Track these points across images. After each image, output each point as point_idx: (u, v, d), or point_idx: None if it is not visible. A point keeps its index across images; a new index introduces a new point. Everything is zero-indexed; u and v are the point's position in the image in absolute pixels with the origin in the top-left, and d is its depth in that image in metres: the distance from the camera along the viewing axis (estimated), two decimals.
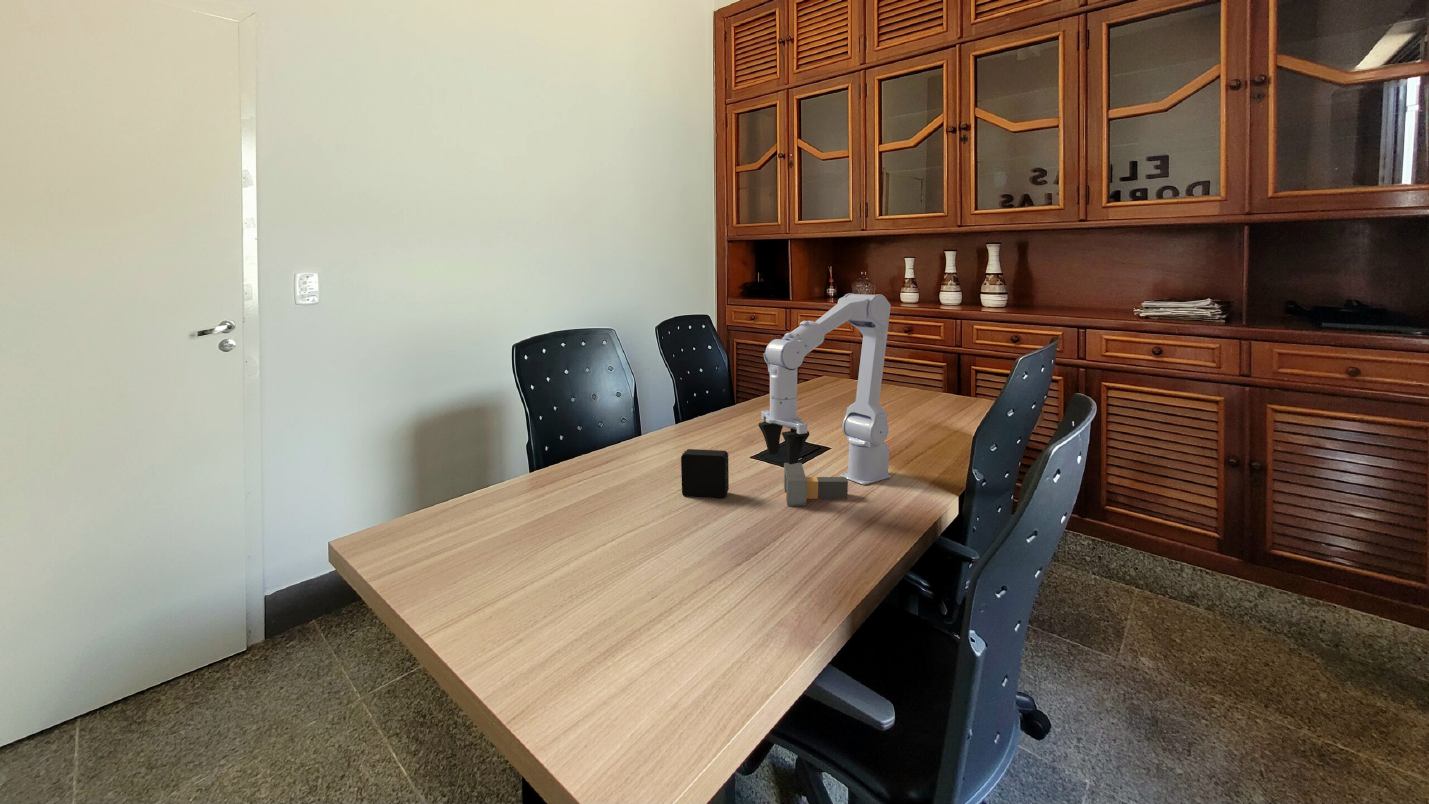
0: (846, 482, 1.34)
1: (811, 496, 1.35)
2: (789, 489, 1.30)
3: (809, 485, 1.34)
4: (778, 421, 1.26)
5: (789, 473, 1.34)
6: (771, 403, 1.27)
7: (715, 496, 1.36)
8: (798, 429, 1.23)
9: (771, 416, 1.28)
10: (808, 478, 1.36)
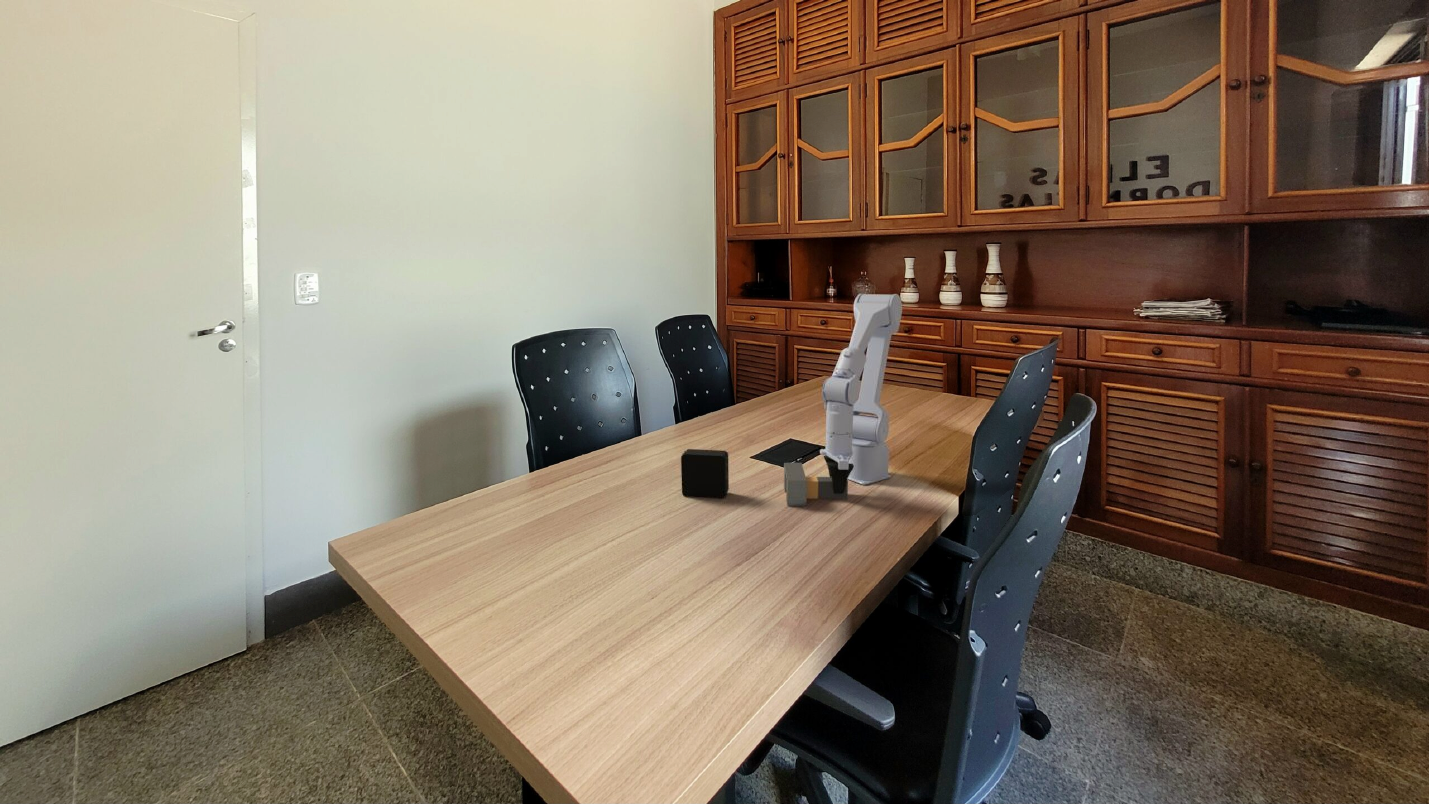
0: None
1: (811, 496, 1.35)
2: (789, 489, 1.30)
3: (809, 485, 1.34)
4: (828, 454, 1.32)
5: (789, 473, 1.34)
6: (826, 436, 1.34)
7: (715, 496, 1.36)
8: (838, 464, 1.27)
9: None
10: (808, 478, 1.36)
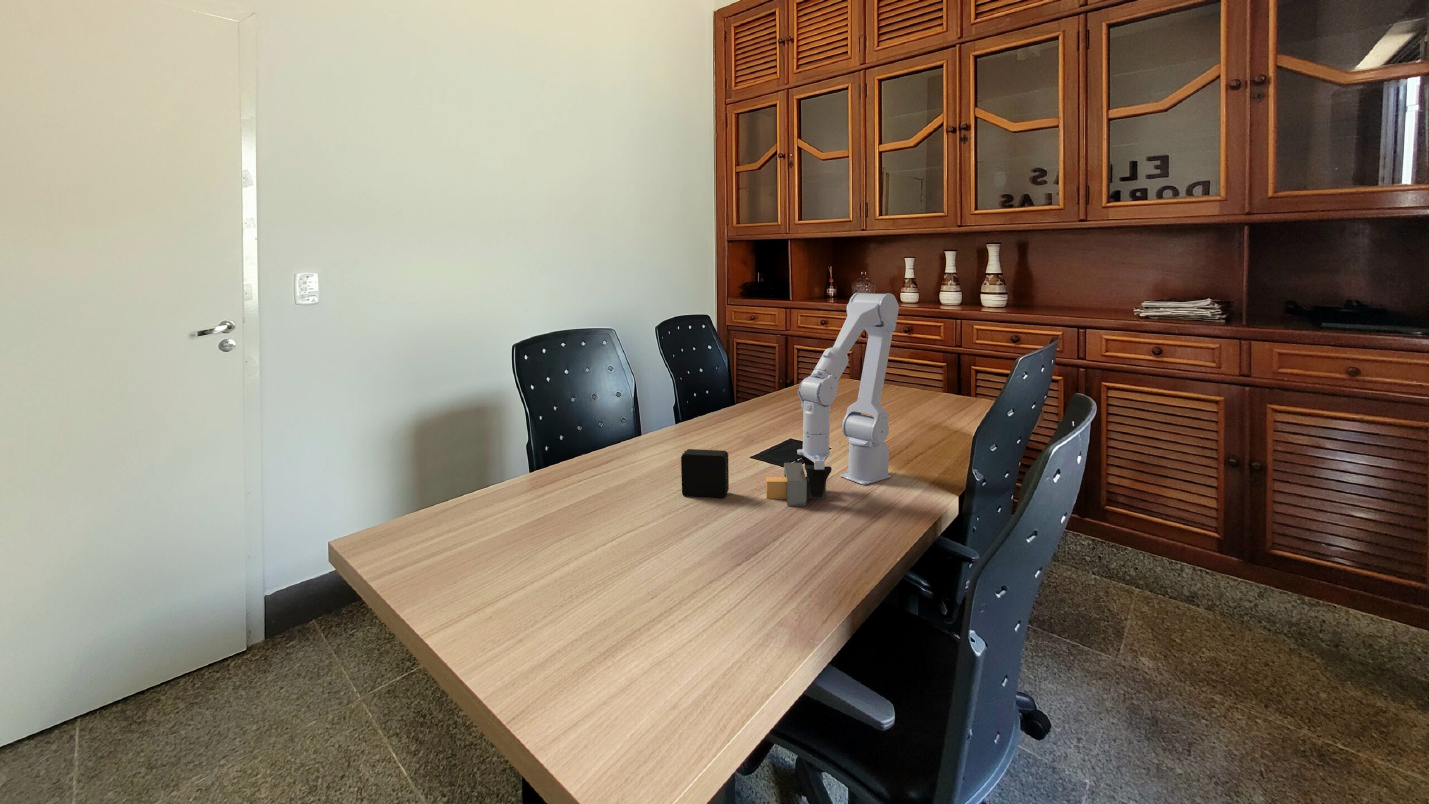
0: None
1: None
2: (789, 489, 1.30)
3: None
4: (805, 454, 1.32)
5: (789, 473, 1.34)
6: (803, 436, 1.34)
7: (715, 496, 1.36)
8: (814, 464, 1.28)
9: None
10: (786, 478, 1.36)
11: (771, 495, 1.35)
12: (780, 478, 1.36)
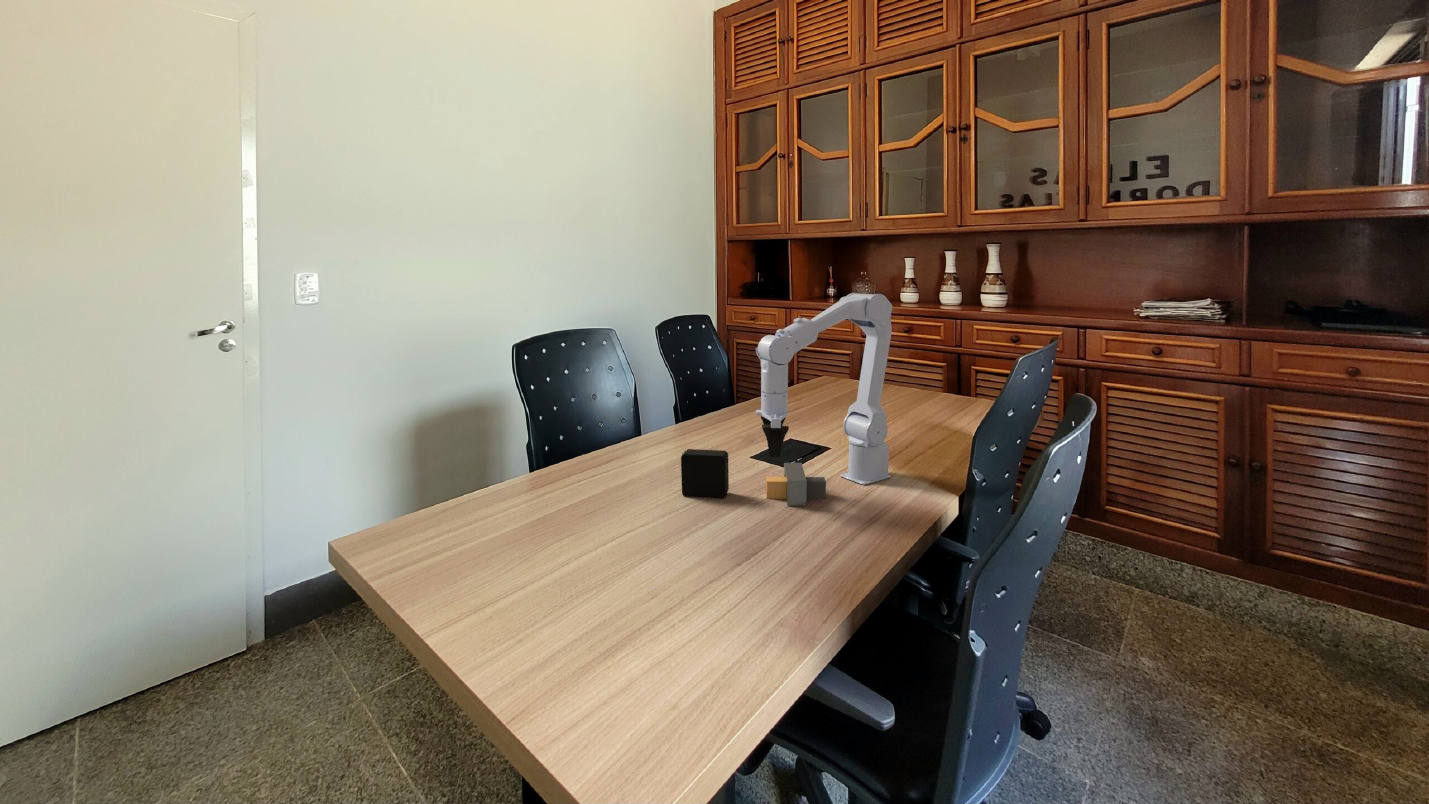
0: (824, 482, 1.34)
1: None
2: (789, 489, 1.30)
3: None
4: (763, 414, 1.31)
5: (789, 473, 1.34)
6: (761, 396, 1.32)
7: (715, 496, 1.36)
8: (771, 423, 1.26)
9: (761, 408, 1.33)
10: (786, 478, 1.36)
11: (771, 495, 1.35)
12: (780, 478, 1.36)
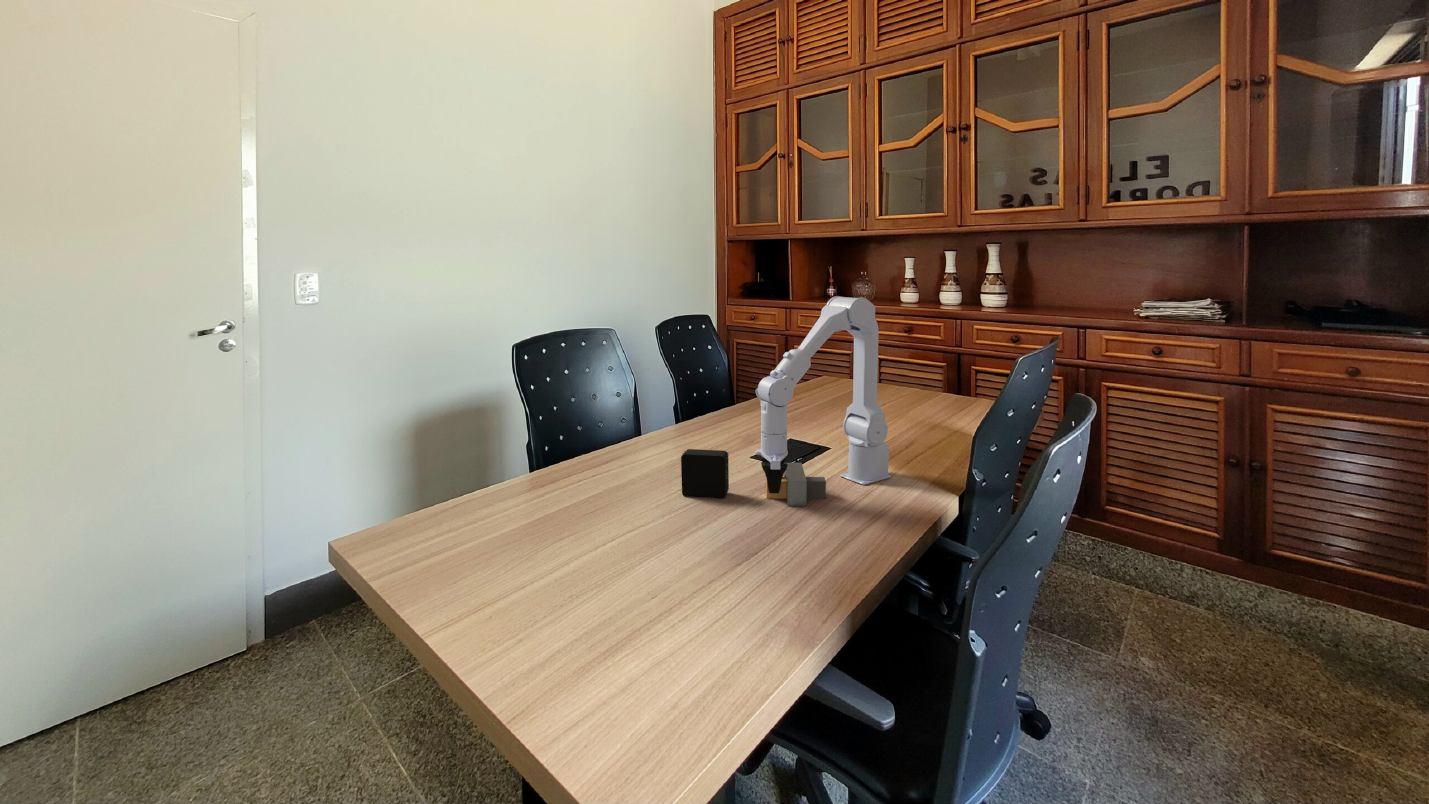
0: (824, 482, 1.34)
1: None
2: (789, 489, 1.30)
3: None
4: (762, 454, 1.33)
5: (789, 473, 1.34)
6: None
7: (715, 496, 1.36)
8: (770, 464, 1.28)
9: (761, 448, 1.35)
10: (786, 478, 1.36)
11: (771, 495, 1.35)
12: None
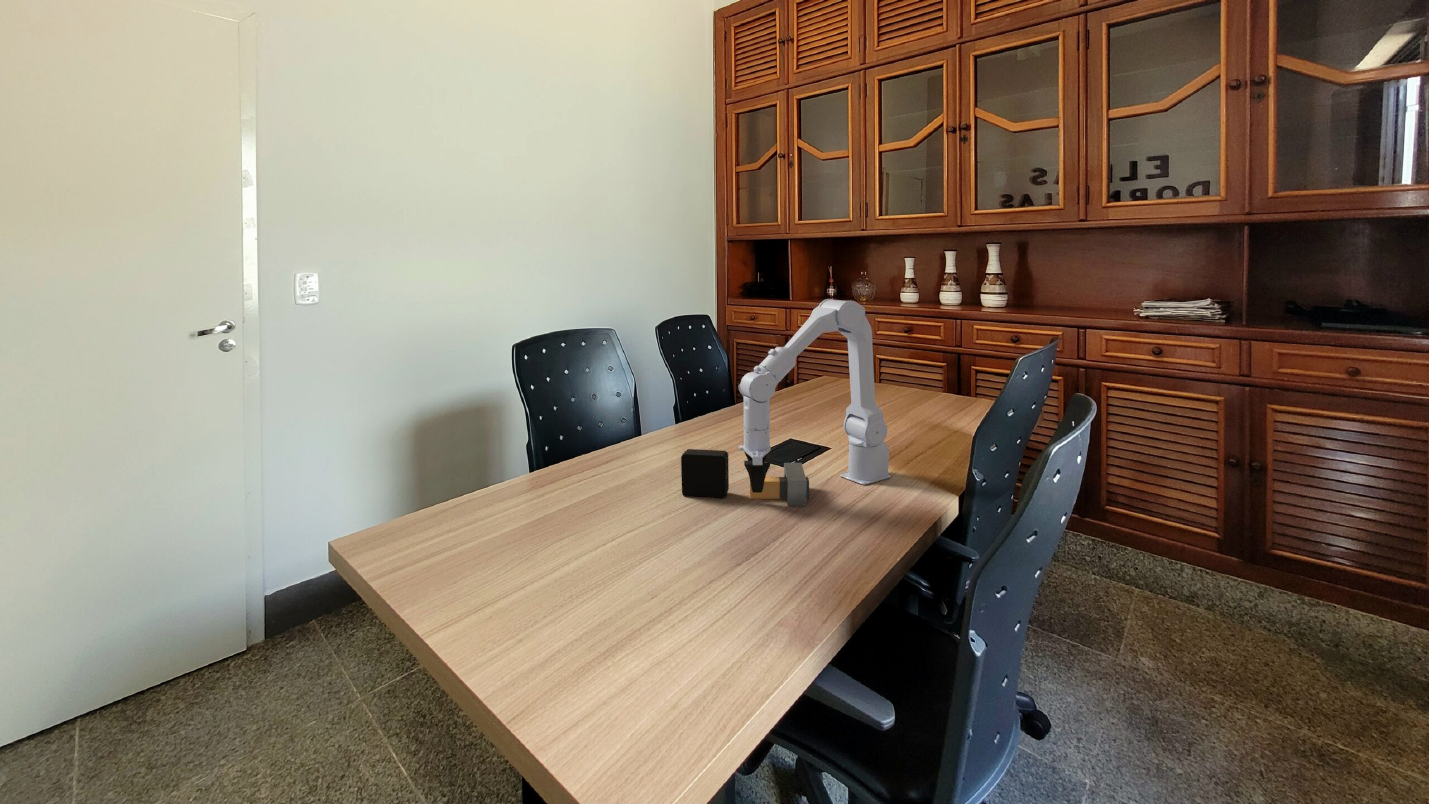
0: (807, 482, 1.34)
1: (773, 496, 1.35)
2: (789, 489, 1.30)
3: (770, 485, 1.35)
4: (745, 449, 1.33)
5: (789, 473, 1.34)
6: None
7: (715, 496, 1.36)
8: (752, 460, 1.28)
9: (744, 444, 1.35)
10: (770, 478, 1.36)
11: (754, 495, 1.35)
12: None
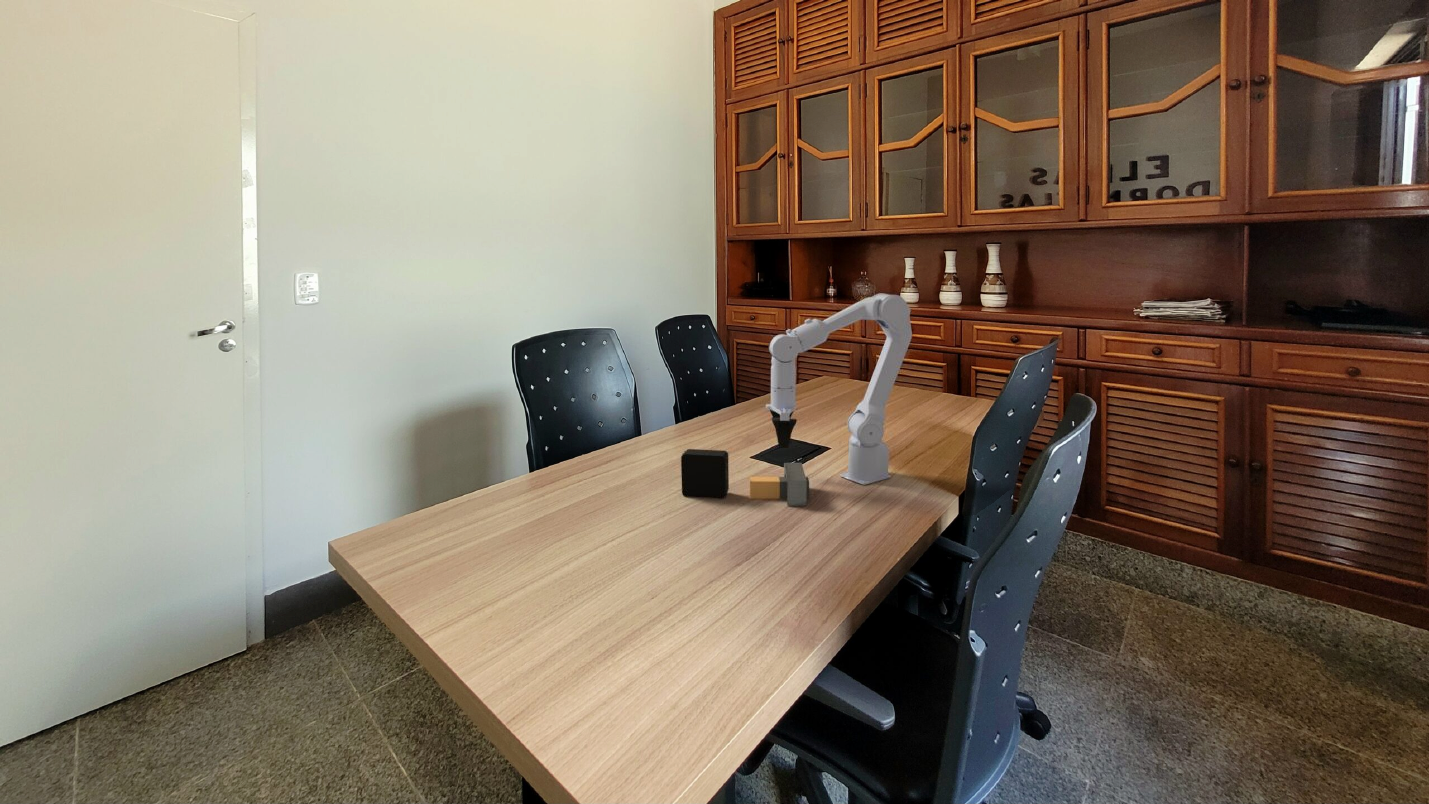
0: (807, 482, 1.34)
1: (773, 496, 1.35)
2: (789, 489, 1.30)
3: (770, 485, 1.35)
4: (772, 407, 1.41)
5: (789, 473, 1.34)
6: None
7: (715, 496, 1.36)
8: (780, 416, 1.36)
9: None
10: (770, 478, 1.36)
11: (754, 495, 1.35)
12: (764, 478, 1.37)
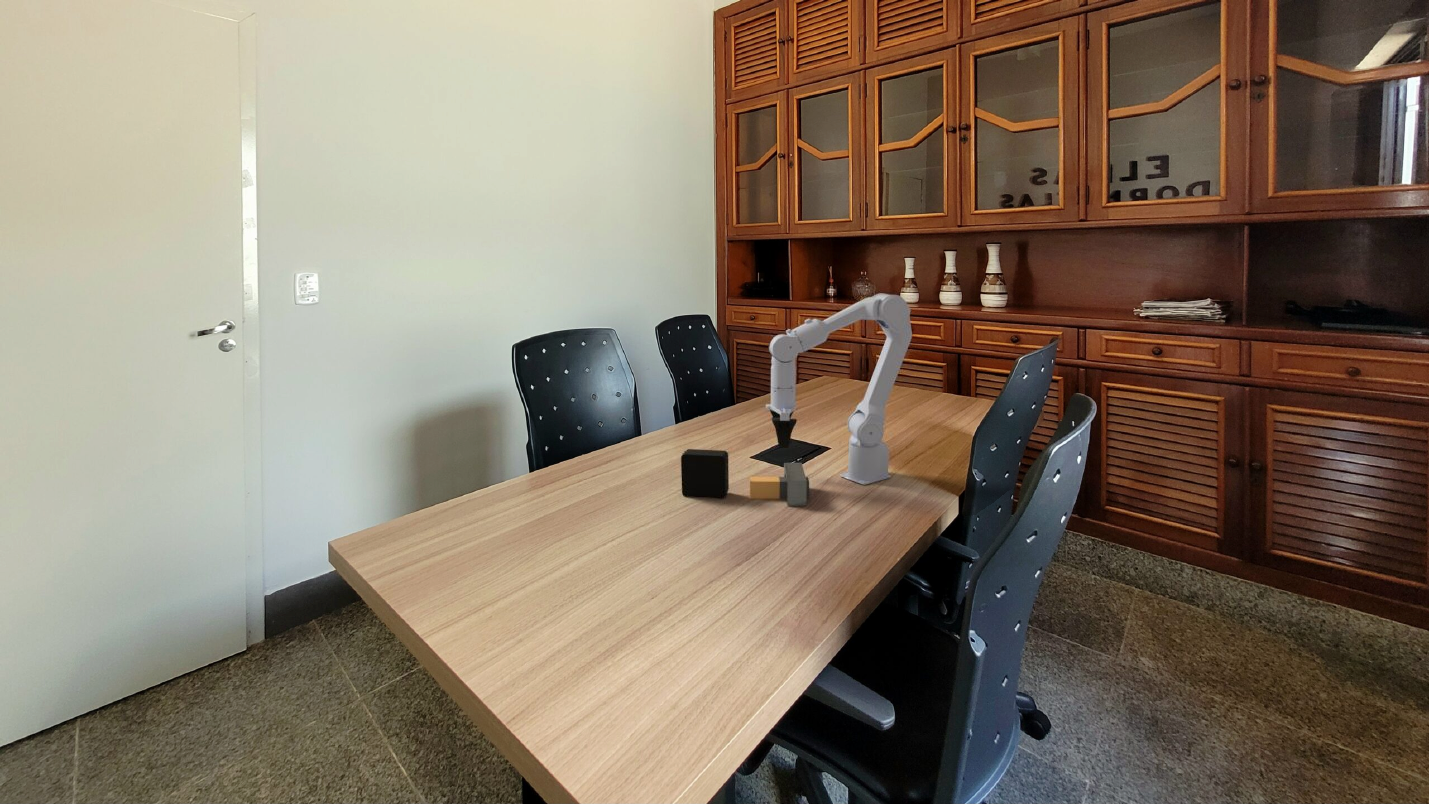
0: (807, 482, 1.34)
1: (773, 496, 1.35)
2: (789, 489, 1.30)
3: (770, 485, 1.35)
4: (772, 407, 1.41)
5: (789, 473, 1.34)
6: None
7: (715, 496, 1.36)
8: (780, 416, 1.36)
9: None
10: (770, 478, 1.36)
11: (754, 495, 1.35)
12: (764, 478, 1.36)
